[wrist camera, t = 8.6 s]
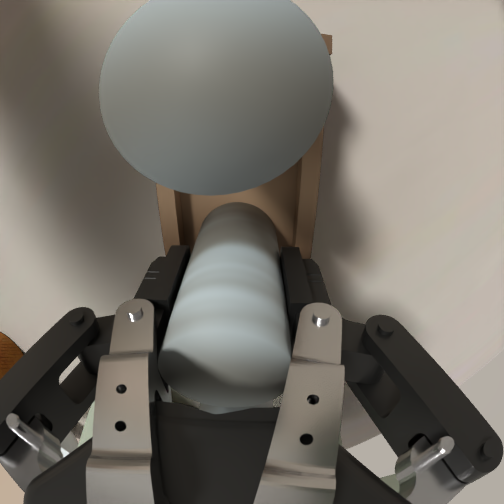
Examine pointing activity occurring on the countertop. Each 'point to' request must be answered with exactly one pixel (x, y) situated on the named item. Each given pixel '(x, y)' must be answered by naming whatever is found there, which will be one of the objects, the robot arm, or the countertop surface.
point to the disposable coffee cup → (8, 354)
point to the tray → (224, 175)
